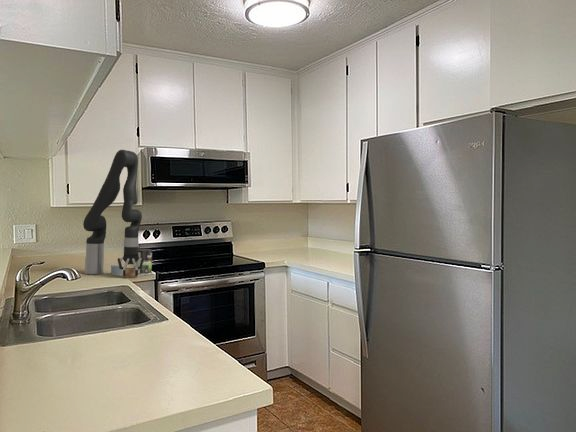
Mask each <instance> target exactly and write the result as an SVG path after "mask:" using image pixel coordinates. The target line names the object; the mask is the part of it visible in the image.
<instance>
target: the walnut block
mask: <svg viewBox="0 0 576 432" xmlns="http://www.w3.org/2000/svg"><path fill="white" fill-rule="evenodd" d="M135 270H136V269H135V268H134V267H126V270H125V277H124V278H125V279H136V277H135Z"/></svg>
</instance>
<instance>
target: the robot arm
mask: <svg viewBox="0 0 576 432" xmlns="http://www.w3.org/2000/svg"><path fill="white" fill-rule="evenodd" d="M138 164H139V157H138V154H136V152H134V151H130V150H126V149H119V150H118V151H117V152H116V153H115V155H114V158H113V160H112V163H111V165H110V168H109V170H108V173H107V176H106V178H105V180H104V181H103V184H102V186H101V188H100V190H99V193H98V194H97V197H96V199H95V200H94V202H93V204H92V206H91V208H90V209H89V211H88V213H87V214H86V216H85V217H84V220H83V223H82V225H83V228H84V230H85V231H87V232H92V234H91V235H90V236H88V237H86V240H85V241H86V244H85V246H86V247H85V257H84V260H85V261H84V275H102V274H104V259H105V256H104V255H105V253H104V252H105V240H106V236H107V220H106V218H105V216H104V215H102V214H103V212H105V210H106V209H107V208H108V207H110V206H111V205H112V204H113V203H114V202H115V201H116V199H117V197H118V195H119V193H120V192H121V191H120V190H121V180H120V177H121V173H122V172H123V170H124V168H126V171H127V176H126V180H125V183H124V185H123V188H122V195H123V197H122V198H123V206H122V211H121V218H122V220H123V221H124V222H125V223H130V225H128V226H125V228H124V239H123V256H122V257H118V258H117V263H118V264H117V265H119V268H120V269H122V276H123V278H125V270H126V268H128V267H127V266H128V265H133V267H134V266H135V269H136V270H135V278H137V276H139V275H138V270H139V269H141V268H142V264H143V261H144V258H140V257H139V256H138V249H139V243H140V242H139V229H140V228H141V223H142V220H143V215H142V214H143V213H142V212H141V210H139V209H137V208H136V209H133V206H136V205H137V204H138V193H137V189H138V188H137V183H138V182H137V181H138V167H139V165H138ZM138 259H139V260H140V262H141V263H140V267H138V266H137V263H136V262H137V261H138ZM122 262H124V265H122Z"/></svg>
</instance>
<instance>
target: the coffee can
mask: <svg viewBox="0 0 576 432" xmlns="http://www.w3.org/2000/svg"><path fill="white" fill-rule="evenodd" d="M138 256H139V257H140V258H144V261H143V264H142V268H141V269H139V270H138V276H147V275H151V274H153V273H152V271H153V270H152V269H153V268H152V266H153V262H152V261H153V249H151V248H138ZM136 263H137V266H138V267H140V263H141V262H140V260H139V259H138V261H137V262H136ZM133 268H135V266H134V265H133Z"/></svg>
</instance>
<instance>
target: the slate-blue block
mask: <svg viewBox="0 0 576 432" xmlns="http://www.w3.org/2000/svg"><path fill="white" fill-rule="evenodd" d="M110 274H111V275H112V276H120V275H122V276H123V270H122V269H120V268H119V264H113V265H111V266H110Z"/></svg>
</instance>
